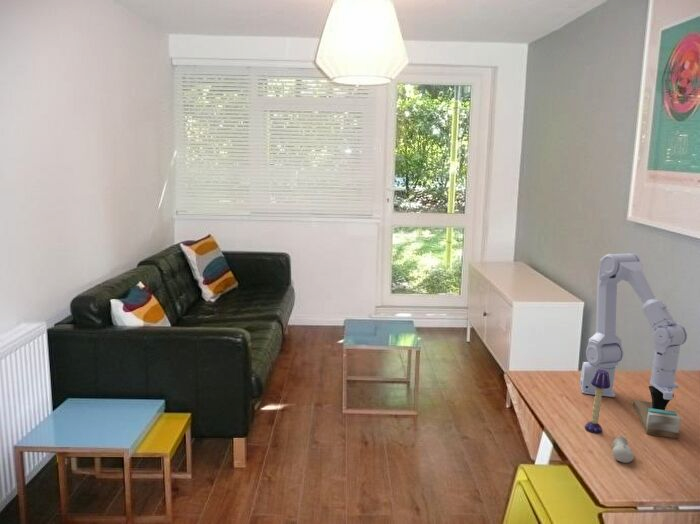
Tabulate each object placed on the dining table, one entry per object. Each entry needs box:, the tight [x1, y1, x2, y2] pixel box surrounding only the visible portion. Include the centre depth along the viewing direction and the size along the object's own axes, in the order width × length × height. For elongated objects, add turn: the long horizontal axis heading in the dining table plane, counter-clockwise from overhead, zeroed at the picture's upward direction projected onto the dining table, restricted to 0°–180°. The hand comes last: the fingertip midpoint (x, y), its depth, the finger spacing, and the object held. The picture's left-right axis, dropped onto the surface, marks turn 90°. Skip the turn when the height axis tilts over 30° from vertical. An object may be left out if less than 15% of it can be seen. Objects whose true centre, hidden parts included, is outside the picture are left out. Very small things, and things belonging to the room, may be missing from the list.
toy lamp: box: [584, 369, 610, 434], centre depth 155 cm, size 5×5×17 cm
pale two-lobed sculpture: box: [611, 435, 635, 464], centre depth 142 cm, size 4×8×5 cm
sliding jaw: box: [647, 408, 678, 416], centre depth 156 cm, size 6×2×4 cm, turn 75°
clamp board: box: [632, 399, 682, 439], centre depth 162 cm, size 8×19×6 cm, turn 165°
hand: (657, 413), depth 161 cm, fingers closed
